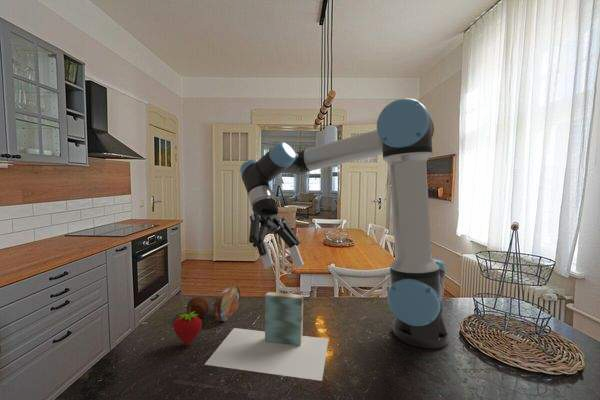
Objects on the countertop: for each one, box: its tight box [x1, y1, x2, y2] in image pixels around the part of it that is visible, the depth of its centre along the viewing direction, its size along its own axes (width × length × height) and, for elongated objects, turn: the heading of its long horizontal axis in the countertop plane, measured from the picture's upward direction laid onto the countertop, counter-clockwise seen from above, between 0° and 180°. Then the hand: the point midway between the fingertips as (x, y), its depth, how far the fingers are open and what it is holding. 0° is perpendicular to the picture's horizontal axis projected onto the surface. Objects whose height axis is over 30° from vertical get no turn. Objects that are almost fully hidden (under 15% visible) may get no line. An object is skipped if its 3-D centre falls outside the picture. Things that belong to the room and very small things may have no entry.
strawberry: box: [172, 311, 203, 346], centre depth 80 cm, size 6×8×10 cm
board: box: [264, 291, 304, 346], centre depth 81 cm, size 10×2×13 cm, turn 80°
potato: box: [186, 295, 210, 320], centre depth 97 cm, size 7×9×6 cm
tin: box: [213, 285, 241, 322], centre depth 98 cm, size 15×3×8 cm, turn 168°
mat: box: [204, 327, 330, 382], centre depth 77 cm, size 28×18×1 cm, turn 80°
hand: (285, 266), depth 84 cm, fingers open, 13 cm apart
